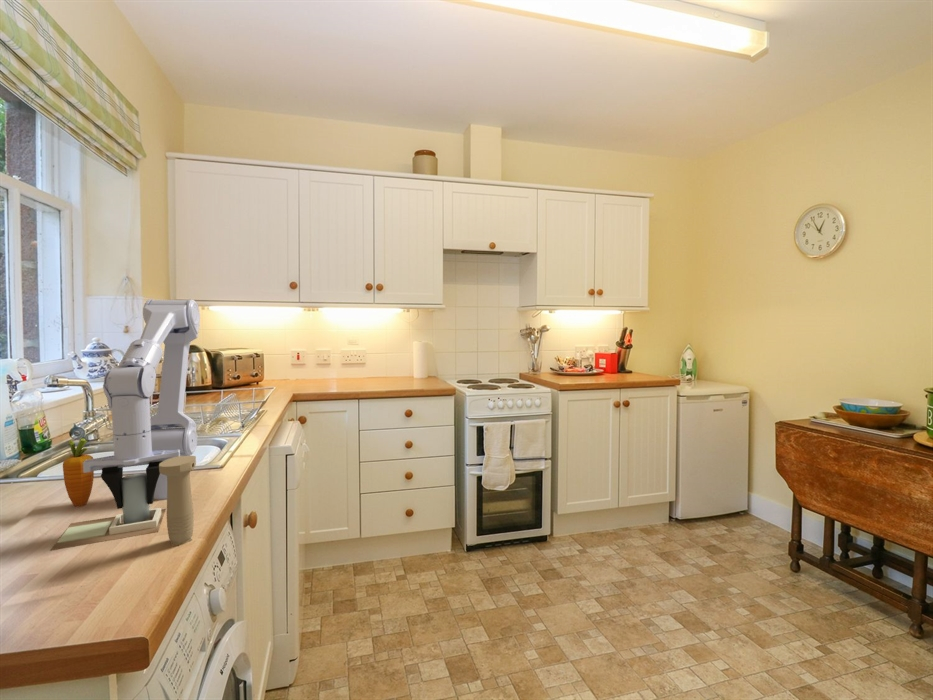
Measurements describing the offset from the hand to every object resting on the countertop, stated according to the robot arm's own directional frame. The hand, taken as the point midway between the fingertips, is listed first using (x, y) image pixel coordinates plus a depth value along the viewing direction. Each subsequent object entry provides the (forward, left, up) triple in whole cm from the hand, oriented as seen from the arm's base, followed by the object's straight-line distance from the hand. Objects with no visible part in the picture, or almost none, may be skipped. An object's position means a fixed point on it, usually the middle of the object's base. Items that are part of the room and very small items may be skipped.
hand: (135, 504), depth 88 cm
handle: (+12, +8, -5) cm, 15 cm away
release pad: (0, -7, -4) cm, 8 cm away
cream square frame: (0, 0, -4) cm, 4 cm away
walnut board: (0, -4, -5) cm, 6 cm away
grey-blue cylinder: (0, 0, -3) cm, 3 cm away
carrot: (-17, -12, -5) cm, 21 cm away
